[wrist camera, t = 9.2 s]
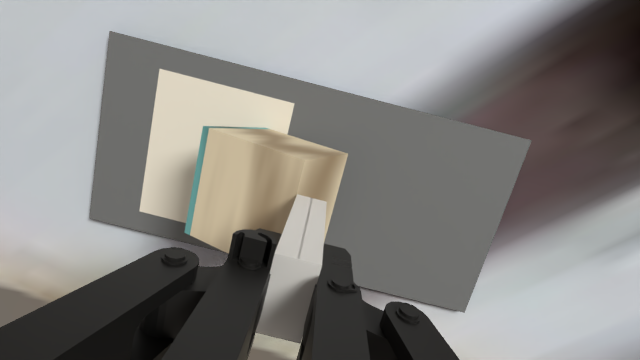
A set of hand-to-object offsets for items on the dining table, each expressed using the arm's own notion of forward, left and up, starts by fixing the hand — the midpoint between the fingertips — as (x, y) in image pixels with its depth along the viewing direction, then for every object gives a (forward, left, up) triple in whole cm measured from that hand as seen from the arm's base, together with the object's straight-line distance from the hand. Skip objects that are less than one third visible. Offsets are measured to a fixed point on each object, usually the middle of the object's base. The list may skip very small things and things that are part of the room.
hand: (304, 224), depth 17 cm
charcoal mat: (+1, 0, -9) cm, 9 cm away
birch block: (0, 0, -3) cm, 3 cm away
